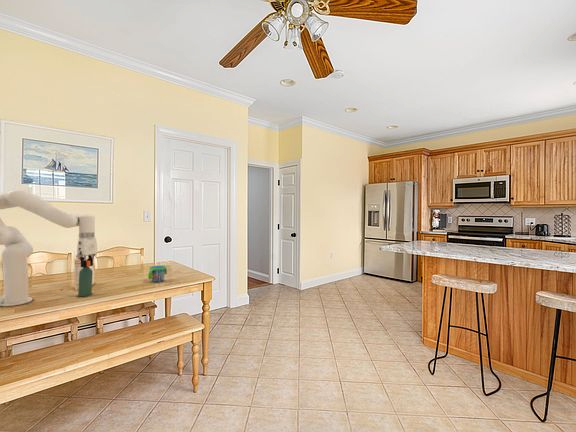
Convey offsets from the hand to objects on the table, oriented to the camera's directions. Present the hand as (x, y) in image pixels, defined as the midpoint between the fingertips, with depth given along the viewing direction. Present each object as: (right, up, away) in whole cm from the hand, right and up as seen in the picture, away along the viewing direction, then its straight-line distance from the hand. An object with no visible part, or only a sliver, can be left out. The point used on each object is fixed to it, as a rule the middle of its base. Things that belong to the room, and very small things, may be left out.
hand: (87, 266), depth 165 cm
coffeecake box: (-14, -17, +17) cm, 28 cm away
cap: (0, 0, 0) cm, 0 cm away
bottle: (-1, -17, 0) cm, 17 cm away
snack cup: (+26, -17, +33) cm, 46 cm away
